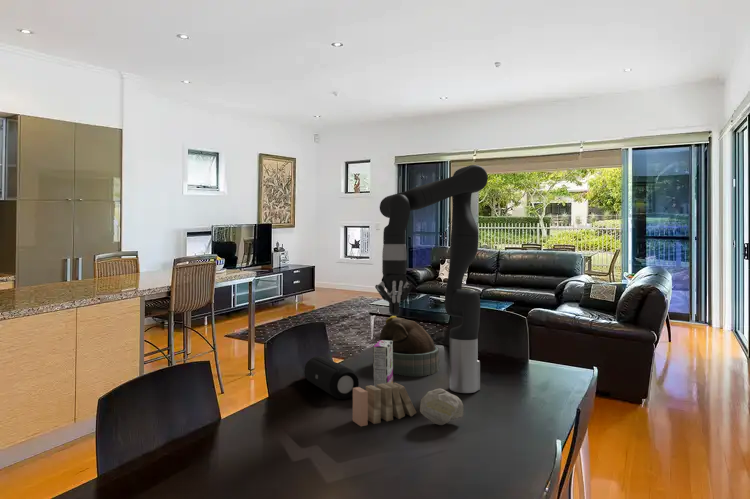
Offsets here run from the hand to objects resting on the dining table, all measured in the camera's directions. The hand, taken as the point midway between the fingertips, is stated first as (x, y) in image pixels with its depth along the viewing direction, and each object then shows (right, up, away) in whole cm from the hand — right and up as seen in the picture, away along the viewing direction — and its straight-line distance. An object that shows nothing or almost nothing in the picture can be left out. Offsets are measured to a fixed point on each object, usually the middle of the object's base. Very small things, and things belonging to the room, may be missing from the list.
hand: (394, 314), depth 152 cm
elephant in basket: (+7, -28, +35) cm, 45 cm away
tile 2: (0, -27, -14) cm, 30 cm away
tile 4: (-7, -27, -17) cm, 33 cm away
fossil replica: (+12, -27, -22) cm, 37 cm away
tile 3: (-3, -27, -15) cm, 31 cm away
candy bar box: (-3, -27, +10) cm, 29 cm away
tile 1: (+4, -27, -12) cm, 29 cm away
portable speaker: (-21, -27, +11) cm, 36 cm away
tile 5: (-10, -27, -19) cm, 35 cm away
